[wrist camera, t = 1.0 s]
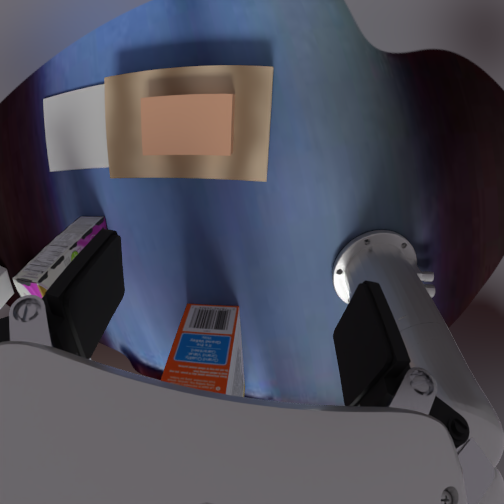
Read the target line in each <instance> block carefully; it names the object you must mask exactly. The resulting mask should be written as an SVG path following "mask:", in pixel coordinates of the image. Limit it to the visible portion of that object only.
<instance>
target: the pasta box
mask: <svg viewBox="0 0 504 504" xmlns="http://www.w3.org/2000/svg"><path fill="white" fill-rule="evenodd" d="M161 381H164V382H168V383H172V384H177V385H181V386H185V387H190V388H195V389H200V390H205V391H210V392H215V393H221V394H227V395H233V396H239V397H244V392H245V382H244V369H243V355H242V341H241V326H240V311H239V306H223V305H203V304H187V306H186V308H185V311H184V314H183V317H182V319H181V322H180V325H179V328H178V331H177V334H176V337H175V339H174V342H173V345H172V348H171V351H170V354H169V357H168V360H167V363H166V366H165V369H164V372H163V375H162V378H161Z"/></svg>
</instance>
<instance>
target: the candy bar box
mask: <svg viewBox="0 0 504 504" xmlns="http://www.w3.org/2000/svg"><path fill="white" fill-rule="evenodd" d="M101 229H107V226H106V221H105V217H101V216H97V217H89V216H80V217H79V218H78V219H77V220H75V221H74V222H73V223H72V224H71V225H70V226H68V227H67V228H66V229H65V230H64V231H63V232H61V233H60V234H59V235H58V236H57V237H56V238H55V239H53V240H52V241H51V242H50V243H49V244H48V245H47V246H46V247H45V248H43V249H42V250H41V251H40V252H39V253H38V254H37V255H36V256H35V257H34V258H33V259H32V260H31V261H30V262H29V263H27V264H26V265H25V266H24V267H23V268H22V269H21V270H20V271H19V272H18V273H17V274H16V275H15V276H14V277H13V282H14V284H15V286H16V288H17V291H18V293H19V295H20V297H23V296H26V295H36V296H38V297H40V298H41V299H42V298H43V296H44V295H45V292H46V291H47V290H48V289H49V287H50V286H51V285H52V284H53V282H54V281H55V280H56V279H57V278H58V276H59V275H60V274H61V273H62V272H63V271H64V269H65V268H66V267H67V266H68V265H69V264H70V262H71V261H72V260H73V259H74V258H75V257H76V256H77V255H78V254H79V252H80V251H81V250H82V249H83V248H84V247H85V246H86V245H87V244H88V243H89V242H90V240H91V239H92V238H93V237H94V236H95V235H96V234H97V233H98V232H99V231H100V230H101Z"/></svg>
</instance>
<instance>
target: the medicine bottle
mask: <svg viewBox="0 0 504 504" xmlns="http://www.w3.org/2000/svg"><path fill="white" fill-rule="evenodd" d="M13 294H14V291H13V288H12V285H11V281H10V278H9V274H8V271H7V269H6V268H4V267H2V266H0V309H1V308H2V307H3V305H4V304H5V303H6V302H7V301H8V299H9V298H10V297H11V296H12V295H13Z"/></svg>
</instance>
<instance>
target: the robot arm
mask: <svg viewBox="0 0 504 504" xmlns="http://www.w3.org/2000/svg"><path fill="white" fill-rule="evenodd" d="M433 279H434V273H433V272H428V271H425V272H421V270H420V269H419V268H418V266H417V258H416V253H415V251H414V248H413V247H412V245H411V244H410V242H409V241H408V240H407V239H406V238H405V237H404V236H402V235H400V234H399V233H396V232H393V231H389V230H375V231H371V232H367V233H364V234H362V235H360V236H358V237H356V238H355V239H353V240H352V241H350V242H349V243H348V244H347V245H346V246H345V247H344V248H343V249H342V250H341V252H340V253H339V254H338V256H337V258H336V260H335V262H334V266H333V269H332V280H333V285H334V288H335V291H336V293H337V294H338V296H339V297H340V298H341V299H342V300H343V301H344V302H346V303H347V304H348V306H347V308H346V310H345V312H344V313H343V315H342V317H341V319H340V321H339V323H338V325H337V326H336V328H335V330H334V334H333V339H334V344H335V350H336V355H337V361H338V366H339V372H340V378H341V385H342V391H343V397H344V404H345V406H331V405H312V404H299V403H287V402H278V401H269V400H261V399H253V398H246V397H239V396H233V395H227V394H221V393H215V392H210V391H205V390H200V389H195V388H190V387H185V386H181V385H177V384H172V383H168V382H164V381H160V380H156V379H152V378H148V377H144V376H141V375H137V374H134V373H130V372H127V371H124V370H120V369H117V368H114V367H111V366H107V365H104V364H101V363H98V362H95V361H92V360H89V359H90V358H91V356H92V354H93V352H94V350H95V348H96V346H97V344H98V342H99V340H100V339H101V337H102V335H103V333H104V331H105V329H106V327H107V325H108V324H109V322H110V320H111V318H112V316H113V314H114V313H115V311H116V309H117V307H118V305H119V304H120V302H121V300H122V298H123V296H124V291H125V288H124V278H123V266H122V252H121V238H120V236H119V235H117V232H116V231H113V230H108V229H101V230H100V231H99V232H98V233H97V234H96V235H95V236H94V237H93V238H92V239H91V240H90V242H89V243H88V244H87V245H86V246H85V247H84V248H83V249H82V250H81V251H80V252H79V254H78V255H77V256H76V257H75V258H74V259H73V260H72V261H71V262H70V264H69V265H68V266H67V267H66V268H65V269H64V271H63V272H62V273H61V274H60V275H59V276H58V278H57V279H56V280H55V281H54V282H53V284H52V285H51V286H50V287H49V289H48V290H47V291H46V292H45V295H44V296H43V298H42V299H41V298H40V297H38V296H36V295H26V296H23V297H20V298H19V299H17V300H16V301H15V302H14V303H13V304H12V306H11V308H10V312H9V316H8V317H5V318H2V319H0V504H504V481H503V478H502V476H501V473H500V472H499V470H498V469H497V468H496V465H497V464H498V462H499V460H500V458H501V456H502V453H503V449H504V433H503V429H502V425H501V423H500V420H499V418H498V416H497V414H496V412H495V410H494V409H493V407H492V405H491V404H490V402H489V400H488V399H487V397H486V396H485V394H484V392H483V391H482V389H481V388H480V386H479V385H478V383H477V381H476V380H475V378H474V376H473V374H472V372H471V371H470V369H469V367H468V366H467V364H466V362H465V360H464V358H463V356H462V354H461V352H460V350H459V348H458V346H457V345H456V343H455V341H454V339H453V337H452V335H451V333H450V331H449V329H448V327H447V325H446V323H445V322H444V320H443V318H442V316H441V314H440V312H439V311H438V309H437V307H436V305H435V303H434V302H433V300H432V297H433V296H434V294H435V287H434V285H432V284H423V283H422V281H430V282H431V281H433Z"/></svg>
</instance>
